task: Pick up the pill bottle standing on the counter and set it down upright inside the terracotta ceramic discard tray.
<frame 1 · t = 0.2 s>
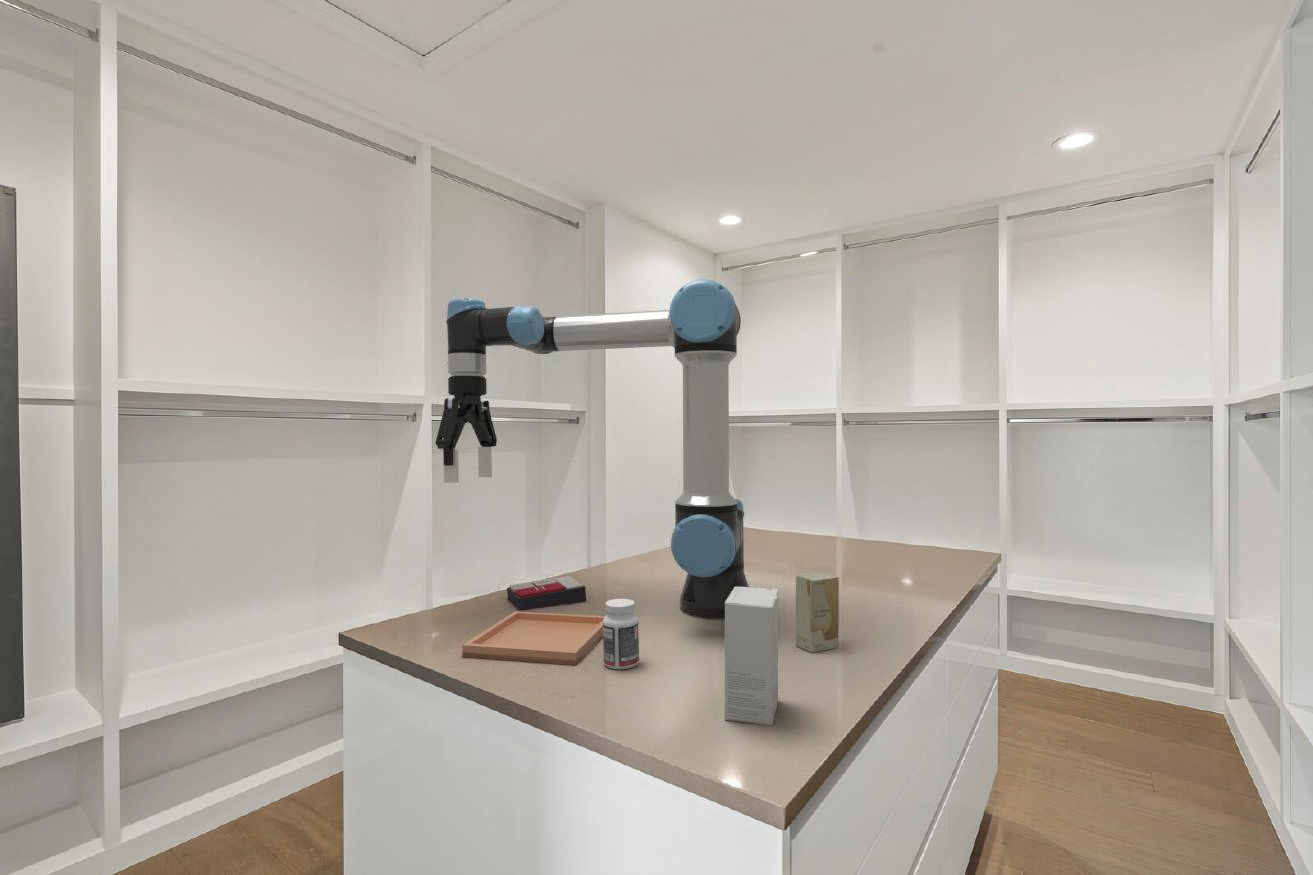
hand: (469, 479, 130), 28 cm above the counter, fingers open, 13 cm apart
calculator: (546, 602, 141), on the counter
discard tray: (542, 641, 114), on the counter
pill bottle: (621, 665, 102), on the counter
skincare box: (753, 712, 85), on the counter
skincare box 2: (817, 648, 109), on the counter
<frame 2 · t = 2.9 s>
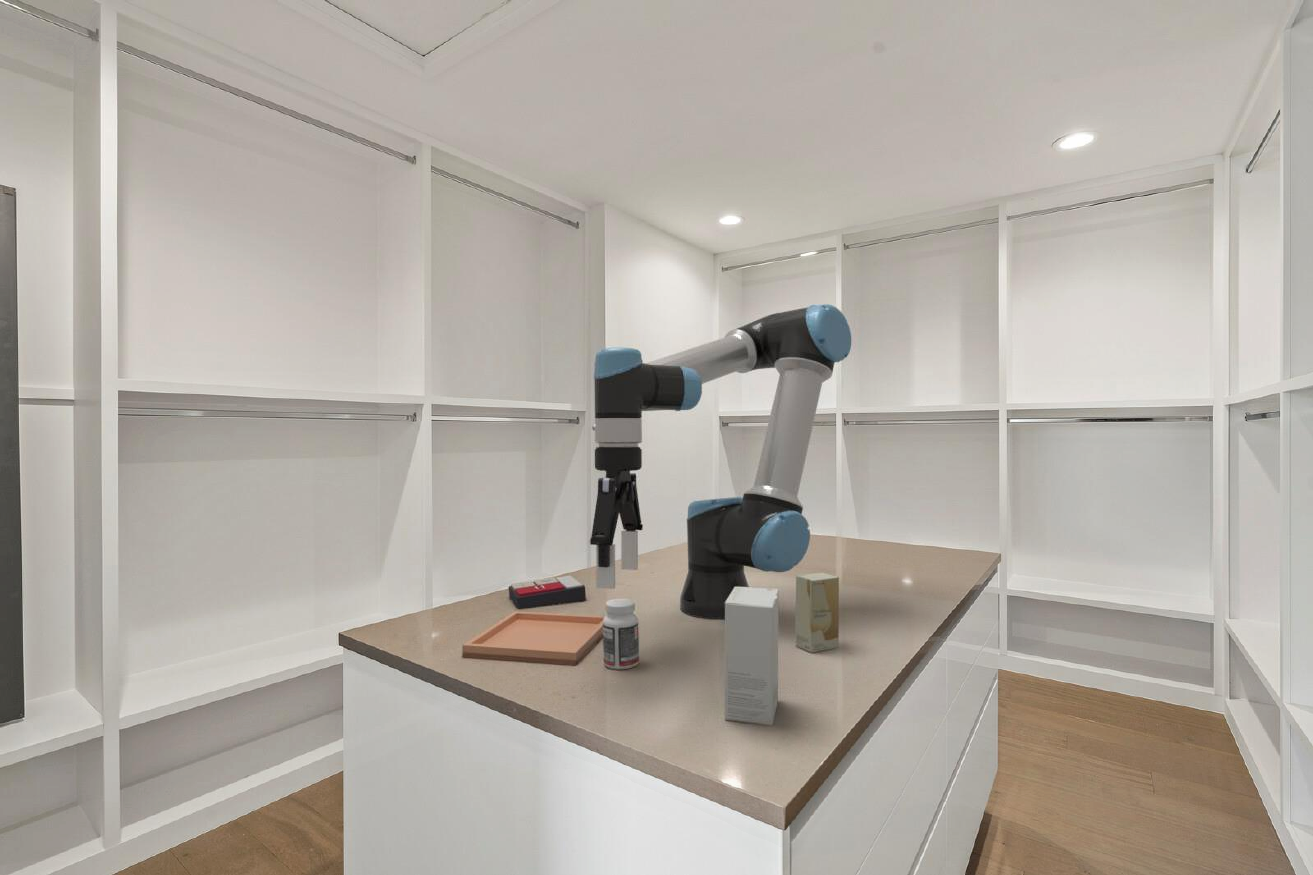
hand: (618, 578, 102), 14 cm above the counter, fingers open, 13 cm apart
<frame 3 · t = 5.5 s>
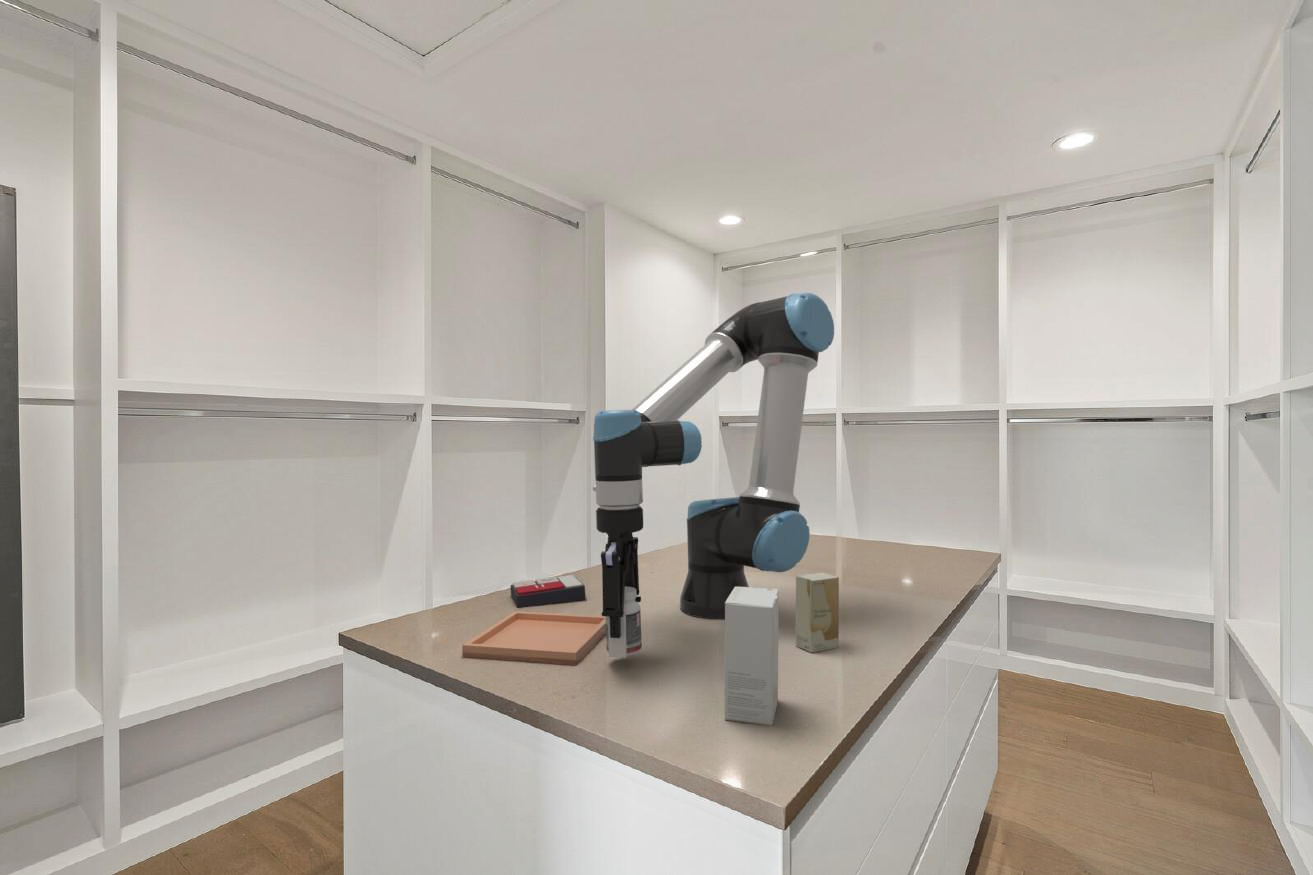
hand: (623, 649, 102), 2 cm above the counter, fingers closed on pill bottle, 6 cm apart
pill bottle: (624, 652, 102), point 2 cm above the counter, touching gripper
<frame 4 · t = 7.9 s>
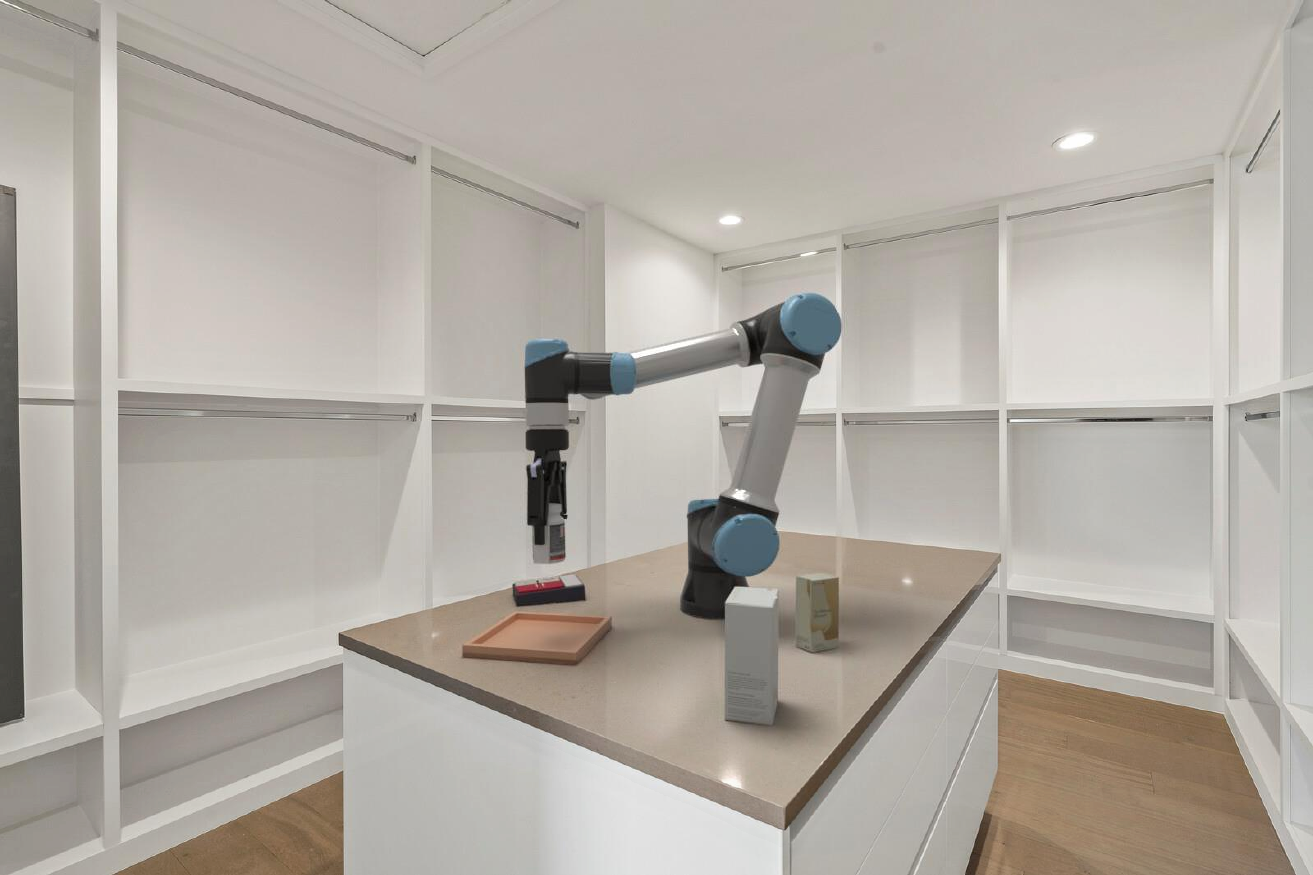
hand: (548, 559, 112), 15 cm above the counter, fingers closed on pill bottle, 6 cm apart
pill bottle: (549, 562, 112), point 14 cm above the counter, touching gripper
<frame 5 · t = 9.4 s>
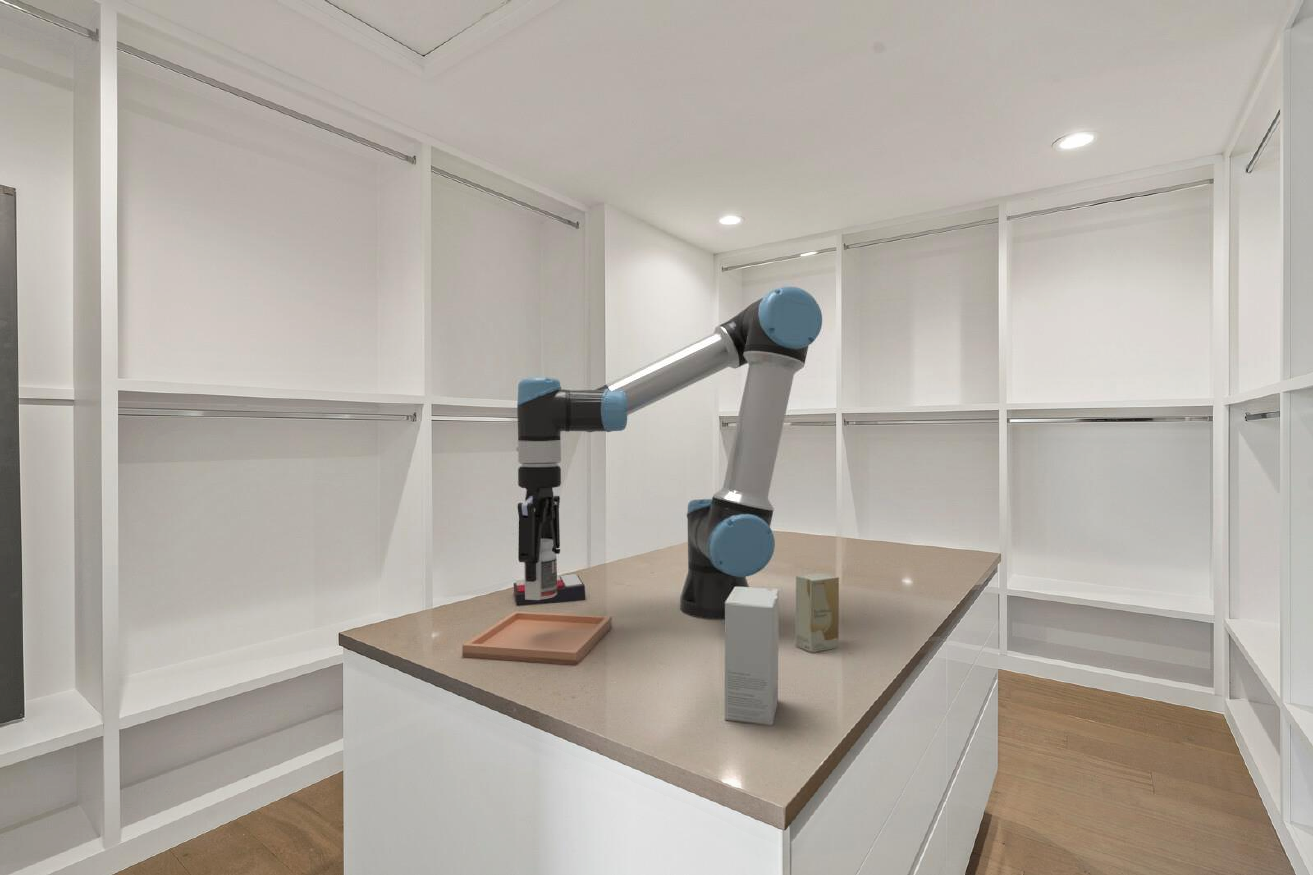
hand: (540, 594, 114), 8 cm above the counter, fingers closed on pill bottle, 6 cm apart
pill bottle: (541, 597, 114), point 8 cm above the counter, touching gripper
when the fingers open (3 cm above the counter, at t = 10.7 s): pill bottle drops 2 cm, resting on discard tray.
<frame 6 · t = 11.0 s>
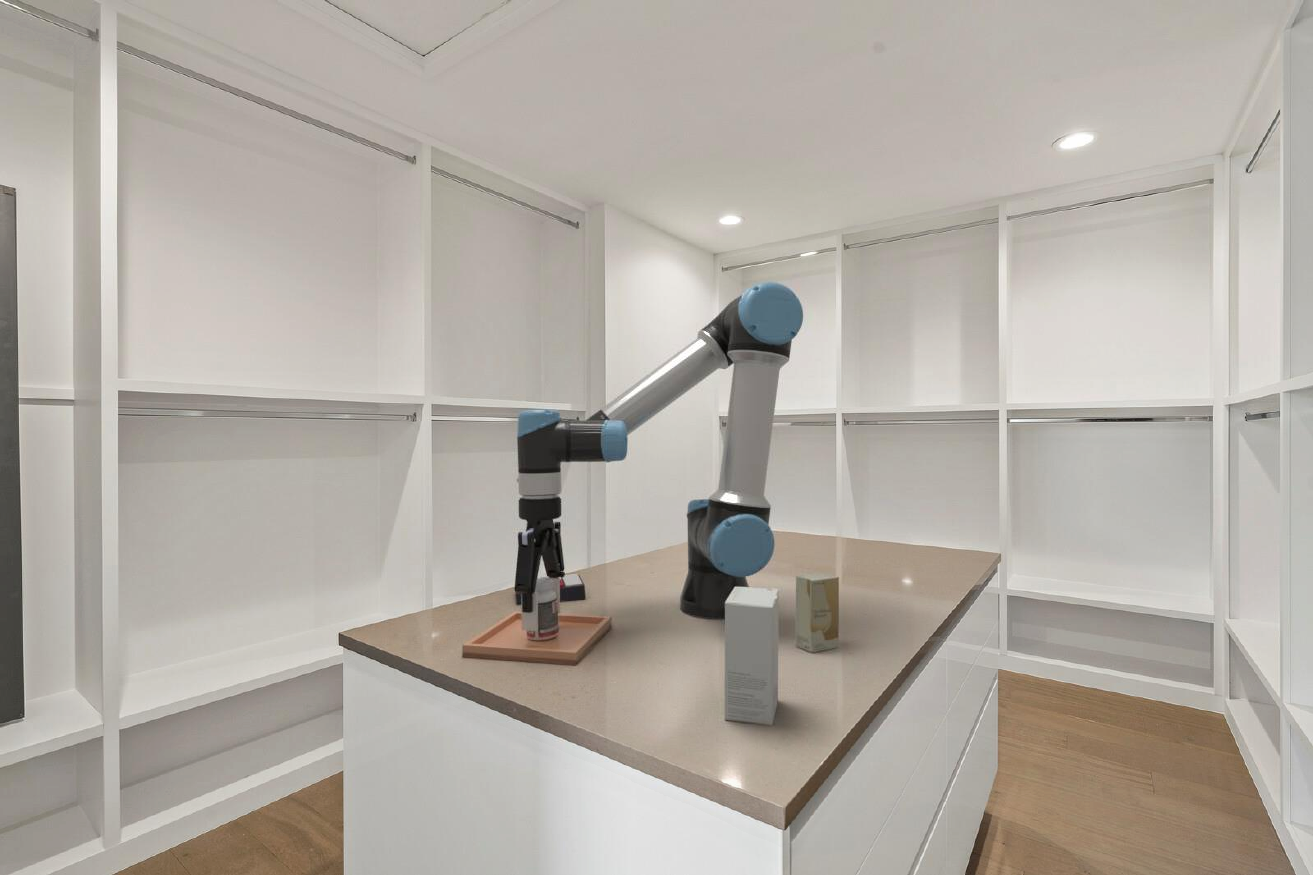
hand: (541, 621, 114), 4 cm above the counter, fingers open, 9 cm apart
pill bottle: (542, 637, 114), point 1 cm above the counter, touching discard tray
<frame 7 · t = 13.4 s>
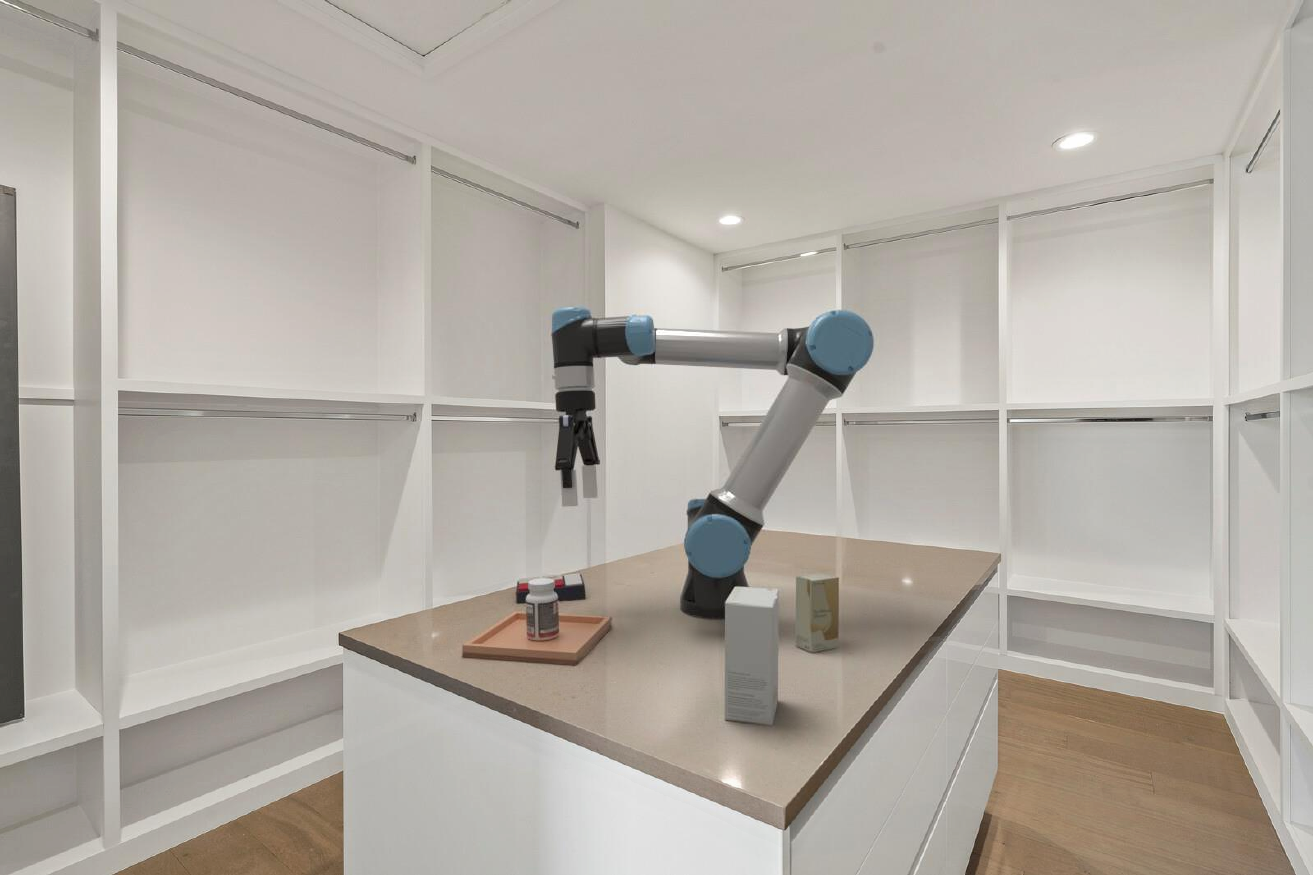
hand: (580, 501, 121), 24 cm above the counter, fingers open, 13 cm apart
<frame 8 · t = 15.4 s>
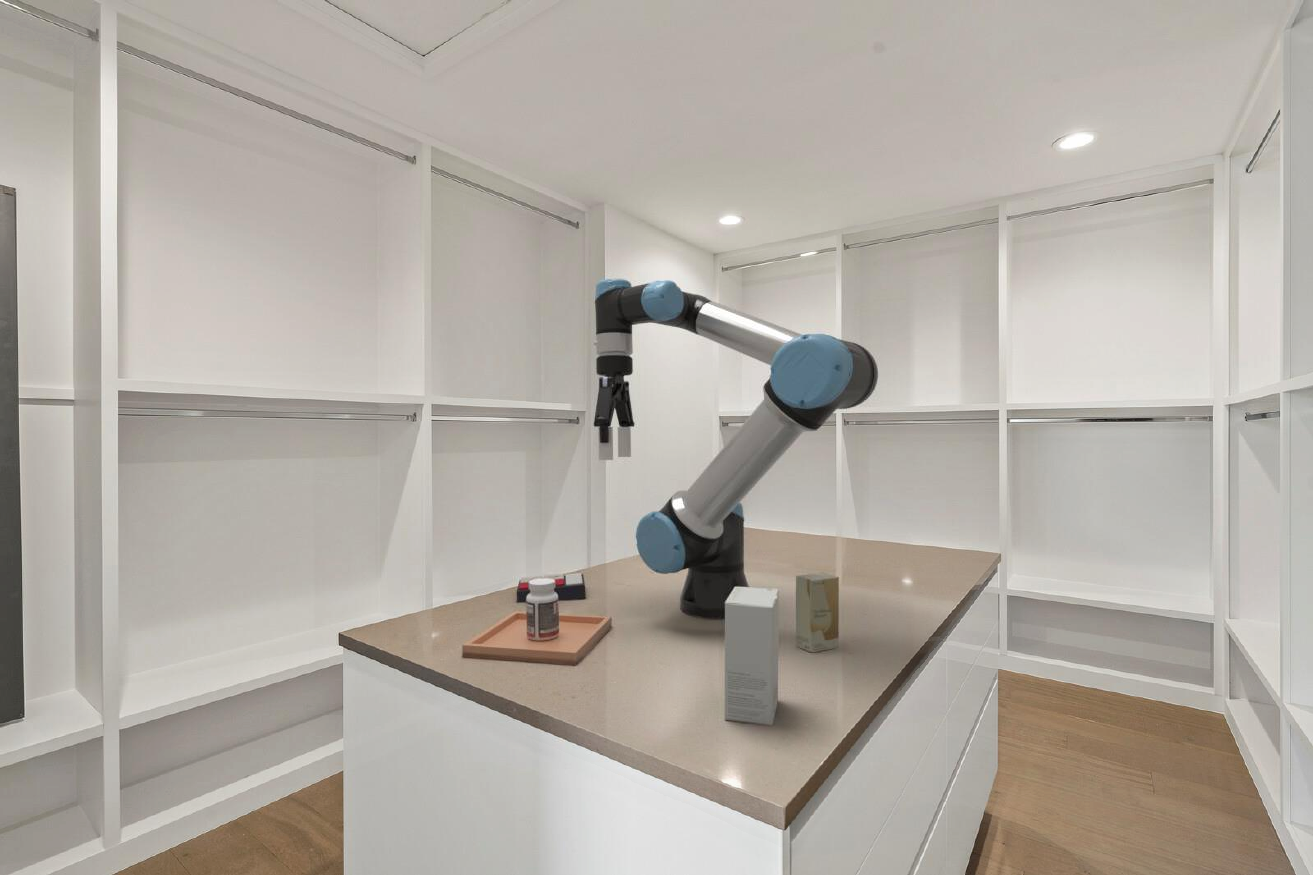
hand: (615, 458, 132), 32 cm above the counter, fingers open, 13 cm apart
at the end: pill bottle inside the target area on the discard tray (0.1 cm from its centre), point 0.6 cm above the discard tray's base; pill bottle tilted 0°; the gripper is holding nothing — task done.
